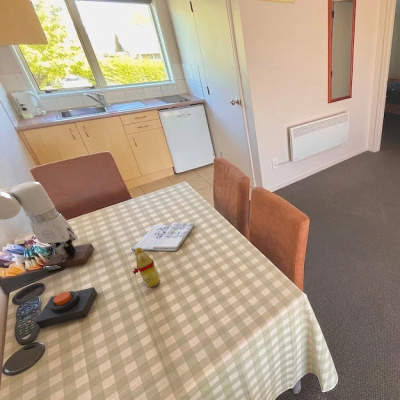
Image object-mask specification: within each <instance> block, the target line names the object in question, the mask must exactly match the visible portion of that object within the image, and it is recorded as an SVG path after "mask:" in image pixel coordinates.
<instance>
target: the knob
mask: <svg viewBox="0 0 400 400" xmlns="http://www.w3.org/2000/svg"><path fill="white" fill-rule="evenodd" d="M66 242H67V241H66ZM71 244H72V245H73V247H74V246H75V244H73V242H72V243H71ZM64 247H65V246H64V245H63V243H61V244H60V245H59V246H58V247H57V248H54V249H55V251H57V253H58V254H59V256H60V257H61V259H63V258H68V257H69V256H70V255H68V254H67V252H66V251H65V249H64ZM74 249H75V250H76V248H75V247H74Z"/></svg>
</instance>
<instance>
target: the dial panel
mask: <svg viewBox="0 0 400 400" xmlns="http://www.w3.org/2000/svg"><path fill="white" fill-rule="evenodd" d="M74 247H75V248H76V250H75V251H74V252H73V253H72V254H71V255H70V256H69V257H68V258H63V259H61V257H60V256H59V254H58V253H57V251H56V250H55V251H54V253H55V255H54V253H53V254H52V255H51V257H49V259H48V260H47V262H46V263H45V264H44V267H45V266H54V265H57V266H60V267H61V268H60V269H55V270H51V271H50V272H54V271H58V270H63V269H67V268H68V269H69V268H74V267H78V266H83V265H86V263H87V262H88V261H89V259H90V257H91V255H92V254H93V252H94V251H95V247H94V245H93V243H92V242H91V243H85V244H80V245H74Z"/></svg>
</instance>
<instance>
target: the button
mask: <svg viewBox="0 0 400 400" xmlns="http://www.w3.org/2000/svg"><path fill="white" fill-rule="evenodd" d="M55 296H56V297H55V298H54V300H53V301H54V302H55V304H56V305H58V306H60V305H63V304H65V303H67V302H69V301H70V300H71V299H72V296H71V294H70V293H69V291H64V292H61V293H59V294H56V295H55Z"/></svg>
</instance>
